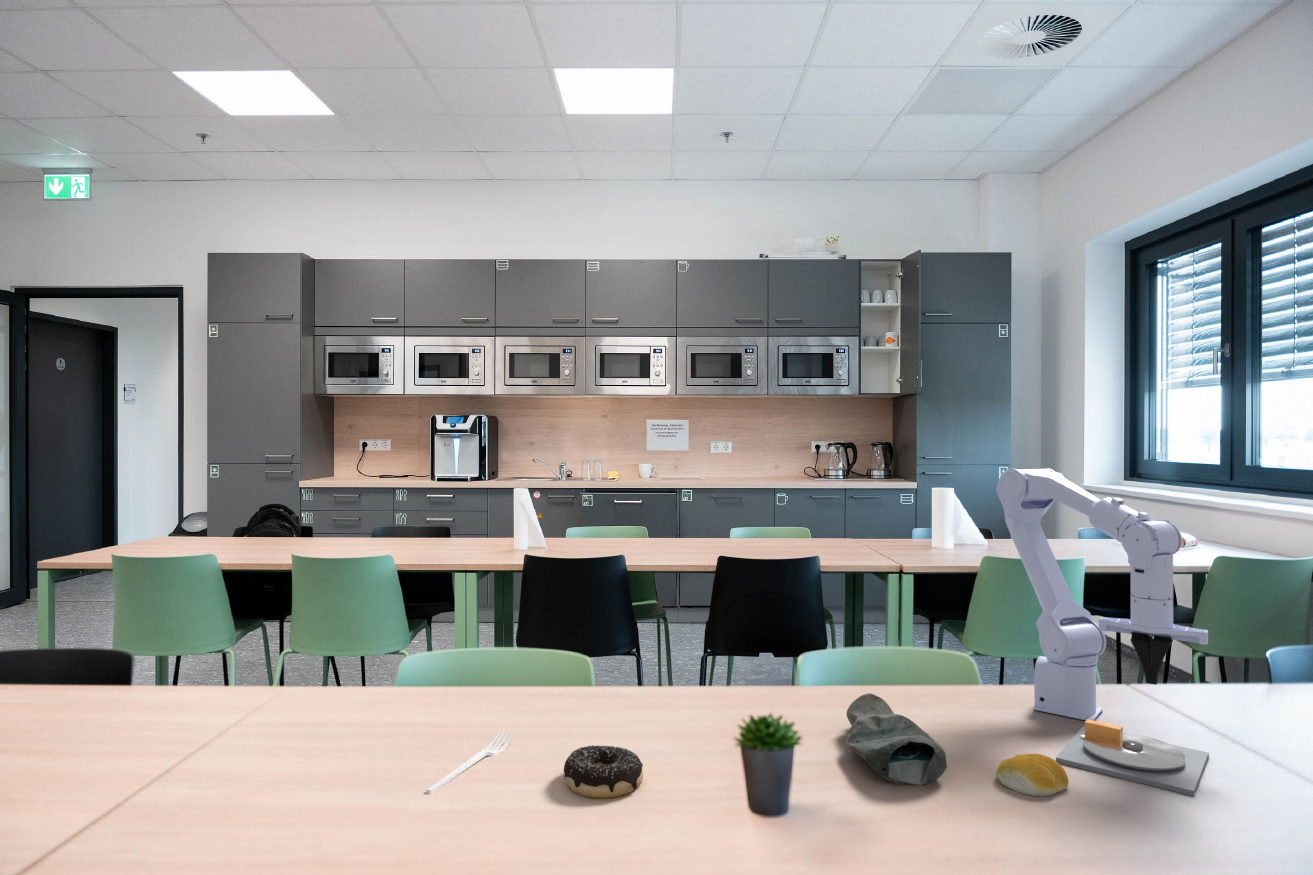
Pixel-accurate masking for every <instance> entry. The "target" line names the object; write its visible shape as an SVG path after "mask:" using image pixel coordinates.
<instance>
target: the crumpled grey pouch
mask: <svg viewBox="0 0 1313 875" xmlns="http://www.w3.org/2000/svg"><path fill="white" fill-rule="evenodd" d="M846 718H847V719H848V722H849V724H850V725H851V726H850V728H849V730H848V733H847V736H846V741H845V744H846V746H847V747H848V748H849V749H850V750H851V751H853V752H854V753H855V754H856V755H857V756H859V757H860V758H861V759H862V760H864V761H865V762H866V763H867V764H868V765H869V766H870V767H871V768H872V770H874V771H875V772H876V773H877V774H878V775H879V776H881V777H882V778H883V779H885V780H887V781H889V782H891V783H894V784H896V785H899V786H908V785H909V786H914V785H921V786H924V785H926V784H930V783H933V782H935V781H937V780H938V779H939V778H940V777H941V776H943V774H944V773H945V772H946V770H947V769H948V764H947V755H946V751H945V750H944V749H943V747H942V746H941V745H940V744H939V743H938V742H937V741H935V739H934V738H932V736H930V735H929V734H928V733H927V732H926V731H924V730H923V729H922V728H921V727H920V726H919V725H918V724H916V722H914V721H913V720H911V719H909V717H906V716H904V715H902V714H900V713H899V714H897V713H894V710H892V708H891V706H890V705H889V704H888V702H886V701H885V699H883V698H882V697H880V696H878V695H876V694H874V693H870V692H868V693H865V694H862V695H860V696H858V697H857V698H856V699H854V700H853V701H852V702H851V703H850V705H848V708H847V710H846Z"/></svg>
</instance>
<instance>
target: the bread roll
mask: <svg viewBox="0 0 1313 875" xmlns="http://www.w3.org/2000/svg"><path fill="white" fill-rule="evenodd" d="M996 777H997V779H998V781H999V782H1000V783H1001V784H1002V785H1003V786H1005V787H1006V788H1008V789H1011V790H1013V791H1015V792H1017V793H1020V794H1023V795H1028V796H1033V797H1048V796H1052V795H1054V794H1056V793H1058V792H1059V793H1060V792H1063V791H1064V790H1066V788H1068V786H1069V783H1070V782H1069V778H1068V777H1069V776H1068V775H1067V772H1066V770H1065V769H1064V767H1063V766H1062V765H1061V763H1058V762H1056V759H1053V758H1052V757H1050V756H1048V755H1045V754H1041V753H1024V754H1023V753H1022V754H1017V755H1014V756H1013V757H1009V758H1006V759H1003V760H1001V761H1000V762H999V764H998V766H997V769H996Z"/></svg>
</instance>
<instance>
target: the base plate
mask: <svg viewBox="0 0 1313 875" xmlns="http://www.w3.org/2000/svg"><path fill="white" fill-rule="evenodd" d="M1084 737H1085V725H1083V726H1082V727H1080V729H1079V730H1078V731H1077V732H1076V733H1075V734H1074V736H1072V738H1071V739H1070V740H1069V742H1067V743H1066V745H1065V746H1064V747H1063V748H1062V750H1061V751H1060V752H1059V753H1058V754H1057V755H1056V756H1055V761H1056V762H1058V763H1059V764H1060V765H1061V764H1062V765H1066V766H1071V767H1074V768H1078V769H1082V770H1086V771H1091V772H1094V773H1099V774H1104V775H1106V776H1110V777H1115V778H1118V779H1123V780H1126V781H1131V782H1134V783H1135V782H1136V783H1139V784H1143V785H1147V786H1150V787H1151V786H1152V787H1156V788H1158V789H1159V788H1160V789H1164V790H1168V791H1172V792H1176V793H1179V794H1184V795H1188V796H1193V797H1194V796H1195V794H1196V791H1197V790H1198V786H1199V784H1200V781H1201V779H1202V776H1203V774H1204V771H1205V768H1206V766H1207V763H1208V761H1209V759H1210V753H1209V752H1210V751H1209V752H1207V751H1203V750H1198V749H1195V748H1190V747H1189V748H1188V747H1186V746H1185V747H1184V746H1180V745H1175V744H1171V743H1169V744H1170V745H1172V746H1174V747H1176V748H1178V749H1179V750H1181V751H1182V752H1183V753H1184V755H1185V765H1184V766H1183V767H1182V768H1180V769H1177V770H1173V771H1147V770H1139V769H1133V768H1128V767H1123V766H1120V765H1116V764H1113V763H1110V762H1107V761H1104V760H1102V759H1099V758H1097V757H1095V756H1093V755H1092V754H1090V753H1089V752H1088V751H1087V750H1086V749H1085V748H1084V745H1083V739H1084Z"/></svg>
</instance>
